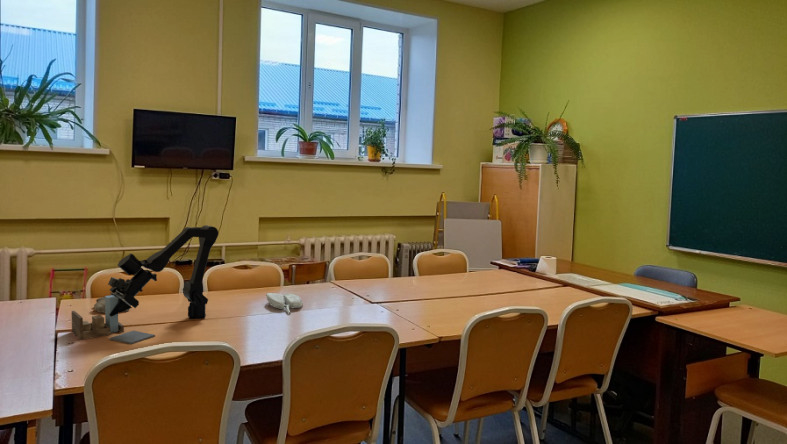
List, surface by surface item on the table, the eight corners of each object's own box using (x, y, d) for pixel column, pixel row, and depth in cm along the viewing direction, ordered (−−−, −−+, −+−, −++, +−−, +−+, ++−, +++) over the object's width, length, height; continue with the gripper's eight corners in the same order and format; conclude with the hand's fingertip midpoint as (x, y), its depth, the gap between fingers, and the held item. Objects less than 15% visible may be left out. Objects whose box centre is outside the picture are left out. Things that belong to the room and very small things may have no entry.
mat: (133, 332, 222) (133, 330, 222) (155, 336, 218) (155, 334, 218) (109, 339, 212) (109, 337, 212) (131, 344, 208) (131, 342, 208)
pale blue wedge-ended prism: (113, 327, 227) (113, 295, 226) (118, 331, 222) (117, 298, 221) (105, 329, 225) (104, 296, 224) (109, 332, 220) (109, 299, 219)
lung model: (300, 300, 283) (308, 318, 259) (264, 302, 278) (269, 321, 254) (301, 287, 281) (309, 304, 258) (264, 289, 276) (269, 306, 253)
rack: (115, 325, 230) (114, 305, 229) (124, 332, 221) (124, 312, 220) (71, 331, 220) (71, 311, 219) (80, 339, 211) (79, 318, 210)
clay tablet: (93, 304, 262) (93, 314, 245) (94, 293, 262) (94, 303, 244) (127, 302, 269) (130, 312, 251) (128, 292, 268) (130, 301, 251)
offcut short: (87, 332, 220) (86, 320, 220) (90, 335, 216) (90, 323, 216) (78, 333, 218) (78, 321, 218) (81, 336, 214) (81, 325, 214)
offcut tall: (100, 330, 223) (100, 314, 223) (104, 333, 220) (104, 317, 219) (92, 331, 221) (92, 316, 221) (95, 334, 218) (95, 319, 217)
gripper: (114, 265, 231) (84, 296, 225) (129, 273, 217) (98, 306, 211) (135, 283, 237) (106, 313, 231) (151, 291, 223) (121, 324, 217)
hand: (107, 313), depth 222 cm, fingers closed on pale blue wedge-ended prism, 6 cm apart
